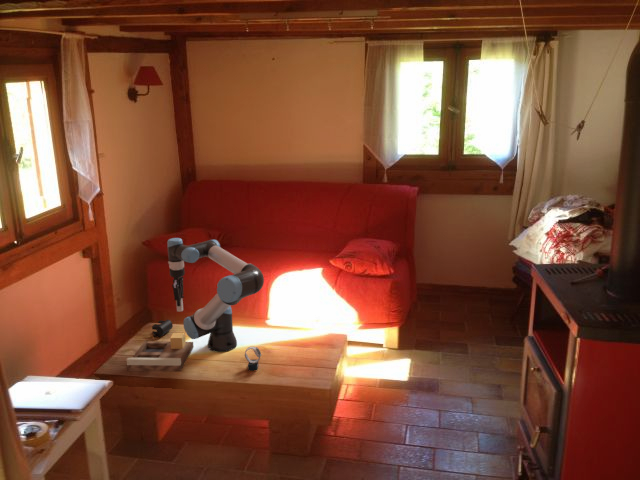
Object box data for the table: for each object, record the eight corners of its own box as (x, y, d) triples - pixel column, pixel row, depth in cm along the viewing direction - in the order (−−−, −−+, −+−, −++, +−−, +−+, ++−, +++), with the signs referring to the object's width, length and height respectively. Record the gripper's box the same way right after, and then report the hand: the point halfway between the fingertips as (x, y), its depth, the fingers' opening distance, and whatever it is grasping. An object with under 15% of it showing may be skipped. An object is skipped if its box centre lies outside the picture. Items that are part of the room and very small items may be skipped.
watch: (261, 370, 286) (260, 350, 283) (244, 370, 286) (243, 350, 283) (262, 365, 292) (261, 344, 289) (246, 365, 292) (245, 344, 289)
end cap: (163, 338, 322) (162, 327, 320) (152, 337, 324) (151, 325, 322) (173, 331, 331) (172, 319, 329) (162, 329, 333) (161, 318, 331)
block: (185, 343, 309) (184, 333, 307) (182, 348, 303) (181, 338, 301) (174, 343, 309) (173, 332, 307) (171, 348, 303) (170, 337, 301)
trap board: (193, 347, 311) (192, 336, 310) (180, 371, 286) (179, 359, 285) (144, 346, 312) (143, 336, 311) (127, 370, 287) (126, 359, 286)
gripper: (173, 263, 309) (176, 305, 316) (165, 272, 296) (169, 315, 302) (187, 263, 309) (190, 305, 316) (180, 272, 296) (183, 316, 302)
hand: (180, 310), depth 309 cm, fingers closed
